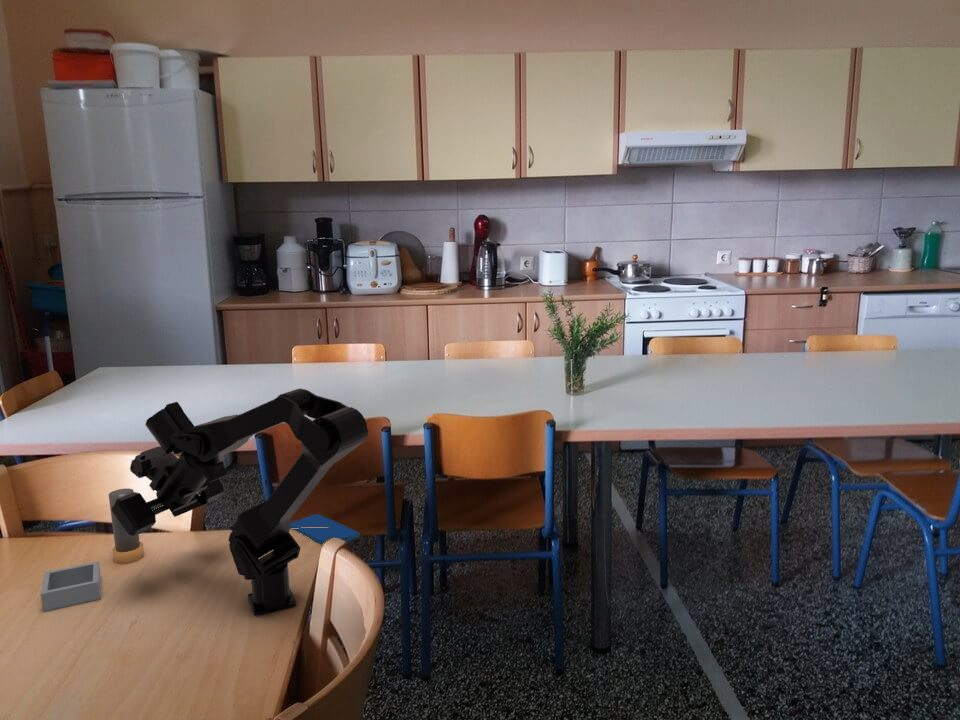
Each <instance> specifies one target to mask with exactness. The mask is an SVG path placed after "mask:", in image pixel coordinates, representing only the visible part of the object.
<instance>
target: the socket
mask: <svg viewBox="0 0 960 720" xmlns="http://www.w3.org/2000/svg"><path fill="white" fill-rule="evenodd" d="M101 583H102V574H101V567H100V561H99V560H98V561H94V562H88V563H84V564H79V565H74V566H69V567H63V568H57V569H55V570H54V569H53V570H49V571H44V574H43V581H42V585H41V586H42V587H41V590H40V597H41V603H42V610H43V612H49V611H52V610H57V609H61V608H62V609H63V608H67V607H71V606H74V605H75V606H76V605H81V604H85V603H90V602H93V601H99V600H101V599H102V598H101V595H102V594H101V593H102V591H101V590H102V587H101V586H102V585H101Z"/></svg>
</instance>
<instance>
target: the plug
mask: <svg viewBox="0 0 960 720" xmlns="http://www.w3.org/2000/svg"><path fill="white" fill-rule="evenodd" d="M134 492H135V491H134V489H132V488H120V489H115V490H112V491H111V492H109V493H108V499H109V500H108V501H109V508H110V516H111V518H110V519H111V522H112V523H111V524H112V525H111V526H112V532H113V533H112V534H113V539H114V547H113V548H112V557H113V562H114V563H116V564H119V565H127V564H132V563H135V562H138V561H140V560H141V559H143V558H144V556H145V550H144V549H145V548H144V543H143V542H142V541H140V534H138V535H135V536H132V537H128V535H127V534H126V530H125V529H124V527H123V526H122V525H121V523H120V522H119V520H118V519H117V517H116V516H115V515H114V513H113V512H112V510H111V508H112V505H113V504H114V502H115V501H116V499H118V498H121V497H124V496H126V495H129V494H131V493H134ZM142 557H143V558H142ZM139 559H140V560H139Z"/></svg>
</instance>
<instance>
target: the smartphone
mask: <svg viewBox="0 0 960 720" xmlns="http://www.w3.org/2000/svg"><path fill="white" fill-rule="evenodd" d="M301 527H329V528H301ZM291 528H299V529H291ZM290 529H291V530H293V531H294V530H296V531H297V532H296V531H295V532H296V533H298V532H299V533H298V534H300V533H302V534H303V535H302V534H301V535H302V536H304V535H305V536H307V537H309V538H310V539H309V538H308V539H309V540H311V539H312V540H311V541H313V540H314V541H313V542H315V543H317V544H319V545H320V546H322V544H323V543H324V542H325V541H326V540H327V539H329V538H333V537H335V538H340V539H343V540H345V541H346V543H349V542H351V541H354V540H356V539H359V538H360V535H361V534H360V532H359V531H358V530H355V529H353V528H351V527H349V526H347V525H345V524H342V523H339V522H337V521H336V520H333V519H331V518H329V517H327V516H325V515H322V514H319V513H315V514H311V515H308V516H305V517H303V518H301V519H297V520H295V521H292V522H290ZM305 536H304V537H305ZM307 537H306V538H307ZM346 543H345V544H346Z"/></svg>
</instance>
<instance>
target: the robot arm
mask: <svg viewBox="0 0 960 720" xmlns="http://www.w3.org/2000/svg"><path fill="white" fill-rule="evenodd" d="M310 418H311V419H310ZM312 419H313V420H312ZM282 423H283V424H284V423H285V424H286V425H288V427H289V428H290V430H291V432H292V434H293V436H294V438H295V439H297V440H298V441H300V442H301V451H302V452H301V454H300V455H299V457H298V458H297V460H296V461H295V462H294V464H293V465H292V467H291V468H290V469H289V471H288V472H287V473H286V474H285V475H284V477H283V478H282V480H281V481H280V483H279V484H278V485H277V487H276V488H275V490H274V491H273V492H272V493H271V495H270V496H269V497H268V499H266V500H264V501H263V502H260V503H258V504H256V505H253V506H252V507H250V508H248V509H246V510H244V511H242V512H241V513H239V515H238V516H237V519H236V521H235V523H234V524H232V525H231V526H229V530H231V532H230V534H229V536H228V542H229V544H228V546H229V550H230V553H231V557H232V560H233V562H234V565H235V567H236V570H237V573H238V575H240V576H243V577H244V580H245V581H249V580H250V581H251V582H250V583H251V593H248V594H247V599H248V601H249V606H250V607H251V610H252V613H253V615H254V616H261V615H265V614H267V613H271V612H276V611H279V610H283V609H287V608H291V607H292V608H293V607H295V606H296V605H297V601H296V598H295V595H293V592H292V590H291V588H290V576H289V575H290V574H289V563H290V562H292V561H293V560H296V559H298V558H299V556H300V551H301V546H300V545H299V544H298V542H297V541H296V540H295V538H294V537H293V535H292V534H291V533H290V531H291V528H290V523H291V518H293V516H294V515H295V513H296V512H297V511H298V510H299V508H300V507H301V506H302V505H303V503H305V500H306V499H307V498H308V497H309V495H310V494H311V493H312V492H313V491H314V489H315V488H316V487H317V485H318V484H319V483H320V481H321V480H322V478H323V477H324V476H325V475H326V474H327V472H328V471H329V470H330V469H331V467H332V466H333V465H334V464H335V463H337V462H338V461H340V460H341V459H343V458H344V457H346V456H347V455H349V454H350V453H351V452H353V451H354V450H355V449H356V448H358V447H359V446H360V445H361V444H362V443H364V442H365V441H366V439H367V437H368V436H369V429H368V424H367V422H366V419H365V417H364V416H363V414H362V413H361V412H360V411H359V410H358V409H356V408H354V407H349V406H347V405H345V404H344V403H342V402H340V401H338V400H334V399H331V398H327V397H322V396H320V395H317V394H315V393H313V392H311V391H310V390H308V389H305V388H300V387H299V388H295V389H293V390H291V391H286V392H284V393H280V394H279V395H277V396H276V397H275V398H274V399H271V400H270V401H267V402H265V403H263V404H260V405H258V406H256V407H254V408H251V409H250V410H247V411H245V412H242V413H241V414H233V415H226V416H222V417H219V418H216V419H213V420H211V421H207V422H203V423H200V424H197V425H194V424H193V422H192V421H191V419H190V418H189V417H188V415H187V414H186V413H185V412H184V410H183V407H182V406H181V405H180V403H179V402H178V401H174V402H170V403H167V404H165V407H164V408H162V409H160V410H159V411H156V412H155V413H154V414H152V415H151V416H150V417H148V418H147V420H146V422H145V427H146V428H147V429H148V431H149V432H150V433H151V435H152V436H153V438H154V440H156V442H157V443H158V444H159V446H155V447H153V448H150V449H147V450H144V451H141V452H140V453H139V454H137V455H135V458H134V459H132V460H131V463H130V467H129V470H130V472H131V473H132V474H134V475H135V476H136V477H137V478H138V479H142V478H144V477H146V479H148V480H150V483H149V485H148V486H149V488H151V490H152V492H153V491H156V493H155V494H156V498H153V499H152V500H150V501H146V499H145V498H144V497H143V495H142V494H141V493H140V492H136V491H134V493H131V494H129V495H126V496H124V497H121V498H118V499H116V501H115V502H114V504H113V505H112V508H111V510H112V512H113V513H114V515H115V516H116V517H117V519H118V520H119V522H120V523H121V525H122V526H123V527H124V529H125V530H126V534H127V535H128V537H132V536H135V535H138V534H139V535H141V534H142V533H145V532H147V531H149V530H152V527H153V526H155V524H156V523H157V517H156V515H159V514H162V513H164V512H165V511H168V510H169V511H170V513H171V515H172V516H173V517H175V518H176V517H178V516H180V515H183V514H185V513H188V512H190V511H193V510H195V509H197V508H201V507H202V506H204V505H207V504H209V503H212V502H213V501H214V500H216V499H219V498H220V497H221V496H222V495H223V494H224V492H225V486H224V483H223V482H222V480H221V478H223V477H226V476H228V470H227V467H226V466H225V462H224V461H223V460H221V456H224V455H227V454H230V453H231V452H235V451H237V450H238V449H240V448H241V447H242V446H244V445H245V444H246V443H248V441H249V440H250V438H252V437H253V436H254V435H257V434H259V433H262V432H264V431H266V430H269V429H271V428H273V427H276V426H278V425H281V424H282ZM177 454H178V455H179V454H180V455H179V456H176V455H177ZM111 510H110V511H111Z"/></svg>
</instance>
